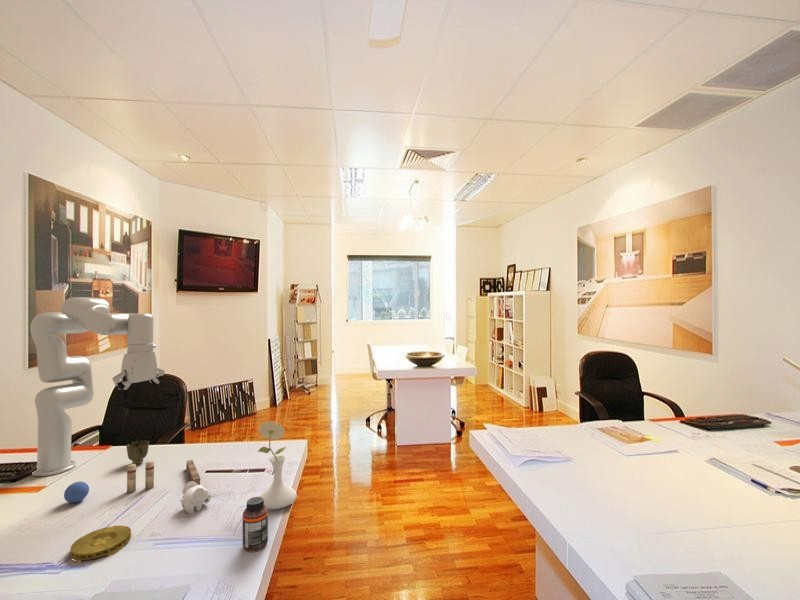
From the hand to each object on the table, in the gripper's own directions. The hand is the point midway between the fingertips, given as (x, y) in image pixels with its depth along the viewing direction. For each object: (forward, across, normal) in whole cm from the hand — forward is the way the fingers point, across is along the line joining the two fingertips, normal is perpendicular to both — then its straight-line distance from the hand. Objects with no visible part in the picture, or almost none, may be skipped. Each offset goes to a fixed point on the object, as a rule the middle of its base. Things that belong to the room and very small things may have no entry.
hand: (139, 398), depth 131 cm
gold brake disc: (+30, +27, +26) cm, 48 cm away
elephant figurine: (+30, +5, +33) cm, 45 cm away
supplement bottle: (+30, +13, +63) cm, 71 cm away
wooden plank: (+30, -11, +13) cm, 34 cm away
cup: (+30, -13, -19) cm, 38 cm away
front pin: (+30, +4, +3) cm, 30 cm away
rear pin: (+30, 0, +6) cm, 30 cm away
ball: (+27, +15, -6) cm, 31 cm away
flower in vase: (+30, -6, +54) cm, 62 cm away
